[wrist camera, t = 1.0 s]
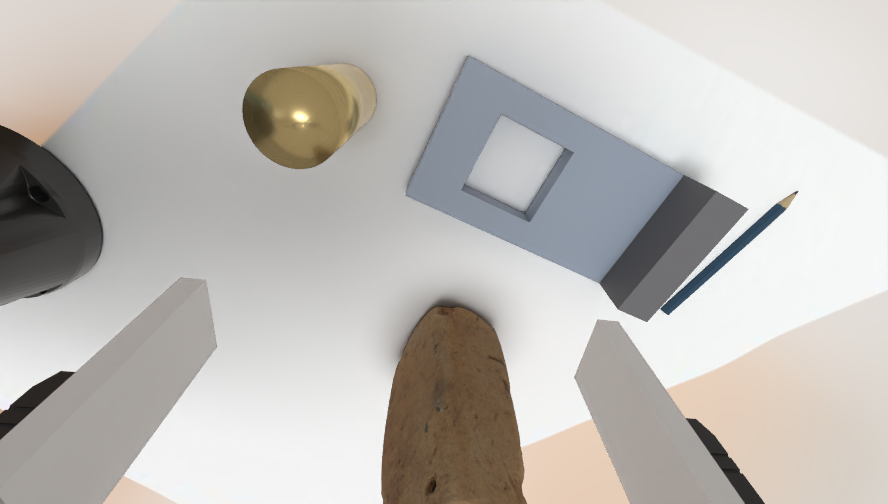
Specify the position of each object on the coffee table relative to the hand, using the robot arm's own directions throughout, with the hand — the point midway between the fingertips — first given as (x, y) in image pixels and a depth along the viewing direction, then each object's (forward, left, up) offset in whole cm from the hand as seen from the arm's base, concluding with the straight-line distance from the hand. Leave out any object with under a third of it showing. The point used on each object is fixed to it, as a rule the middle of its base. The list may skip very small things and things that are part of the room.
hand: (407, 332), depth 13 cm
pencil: (+29, +5, -21) cm, 36 cm away
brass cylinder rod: (-8, +3, -21) cm, 22 cm away
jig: (+10, +4, -21) cm, 23 cm away
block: (+9, -15, -21) cm, 28 cm away
